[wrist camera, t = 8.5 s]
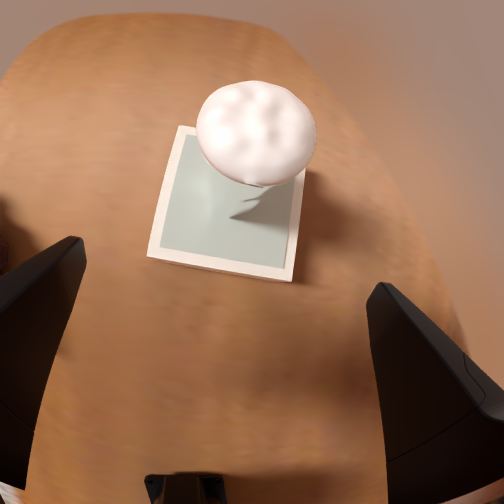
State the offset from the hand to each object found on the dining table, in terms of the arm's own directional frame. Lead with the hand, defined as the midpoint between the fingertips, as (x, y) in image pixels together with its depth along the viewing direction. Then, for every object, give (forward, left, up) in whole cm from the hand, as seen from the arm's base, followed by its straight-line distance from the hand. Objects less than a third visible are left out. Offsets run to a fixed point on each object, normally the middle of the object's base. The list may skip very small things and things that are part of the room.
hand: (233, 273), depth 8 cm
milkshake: (+5, -1, -10) cm, 11 cm away
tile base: (+5, -1, -13) cm, 14 cm away
